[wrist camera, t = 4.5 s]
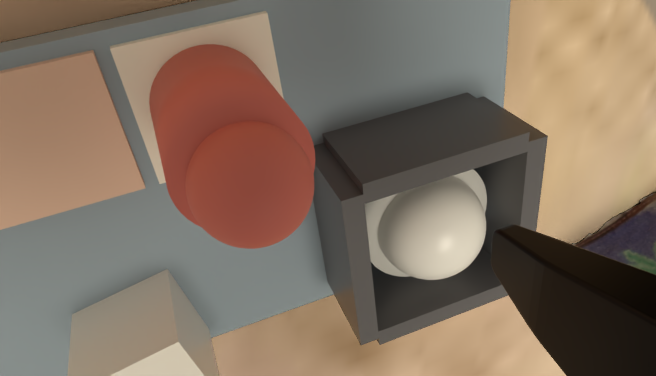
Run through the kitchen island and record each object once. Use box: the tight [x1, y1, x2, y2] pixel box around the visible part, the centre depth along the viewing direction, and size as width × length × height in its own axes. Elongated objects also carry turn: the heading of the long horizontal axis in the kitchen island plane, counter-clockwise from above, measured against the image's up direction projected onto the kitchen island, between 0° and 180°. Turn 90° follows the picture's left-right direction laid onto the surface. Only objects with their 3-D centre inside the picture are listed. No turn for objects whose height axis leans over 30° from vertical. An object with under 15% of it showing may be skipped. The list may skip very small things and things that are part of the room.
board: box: [0, 0, 510, 376], centre depth 21 cm, size 14×26×2 cm, turn 97°
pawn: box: [149, 44, 315, 249], centre depth 15 cm, size 4×4×7 cm
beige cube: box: [67, 269, 219, 376], centre depth 21 cm, size 4×4×4 cm
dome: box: [365, 169, 487, 280], centre depth 21 cm, size 6×6×4 cm
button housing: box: [313, 92, 548, 345], centre depth 22 cm, size 8×8×4 cm
